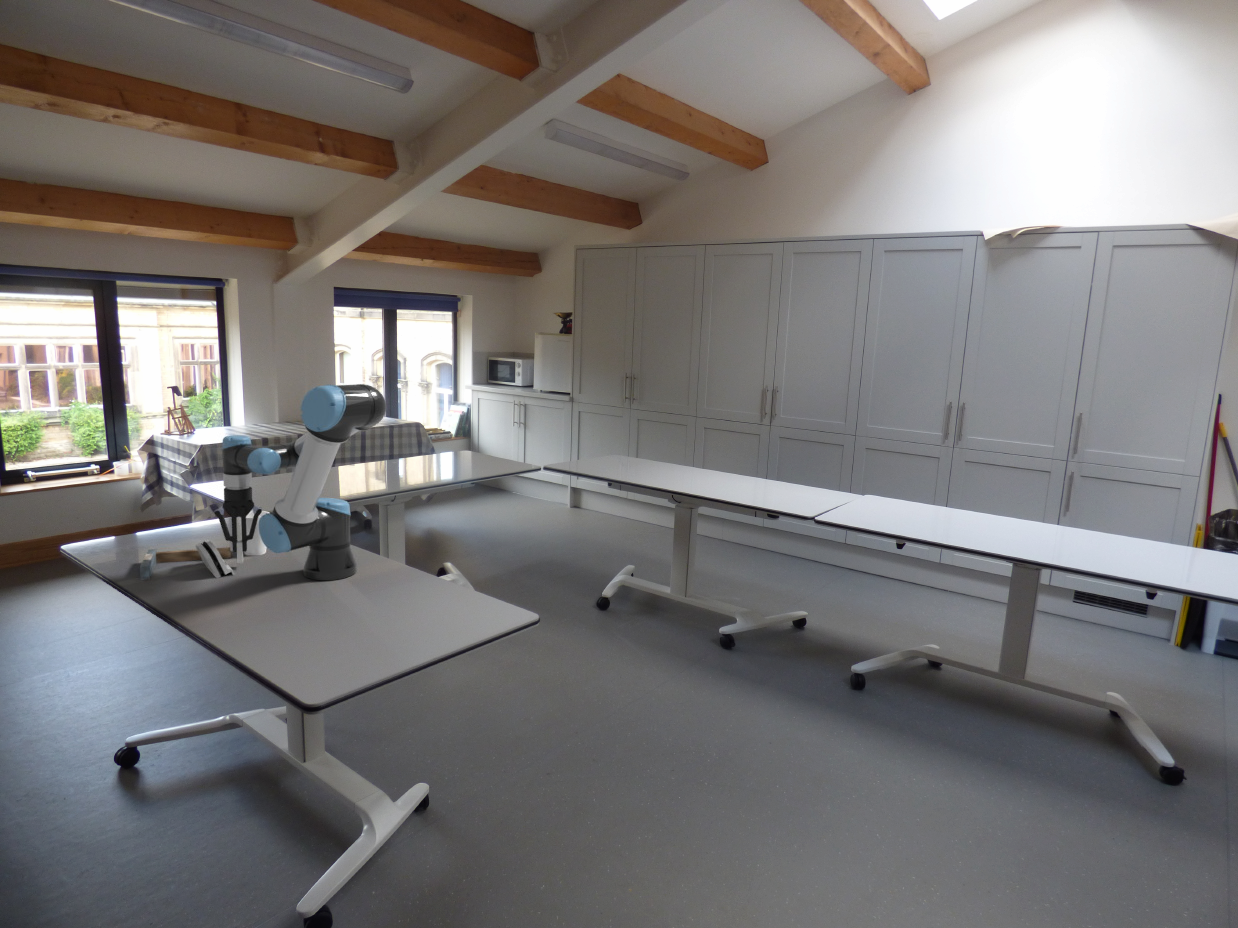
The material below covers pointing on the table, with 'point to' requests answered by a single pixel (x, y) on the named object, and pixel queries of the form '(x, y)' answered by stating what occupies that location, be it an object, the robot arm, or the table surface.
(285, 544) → the robot arm
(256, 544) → the foam cup
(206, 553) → the white piece
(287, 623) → the table surface
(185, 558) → the wooden handled mallet
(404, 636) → the table surface
